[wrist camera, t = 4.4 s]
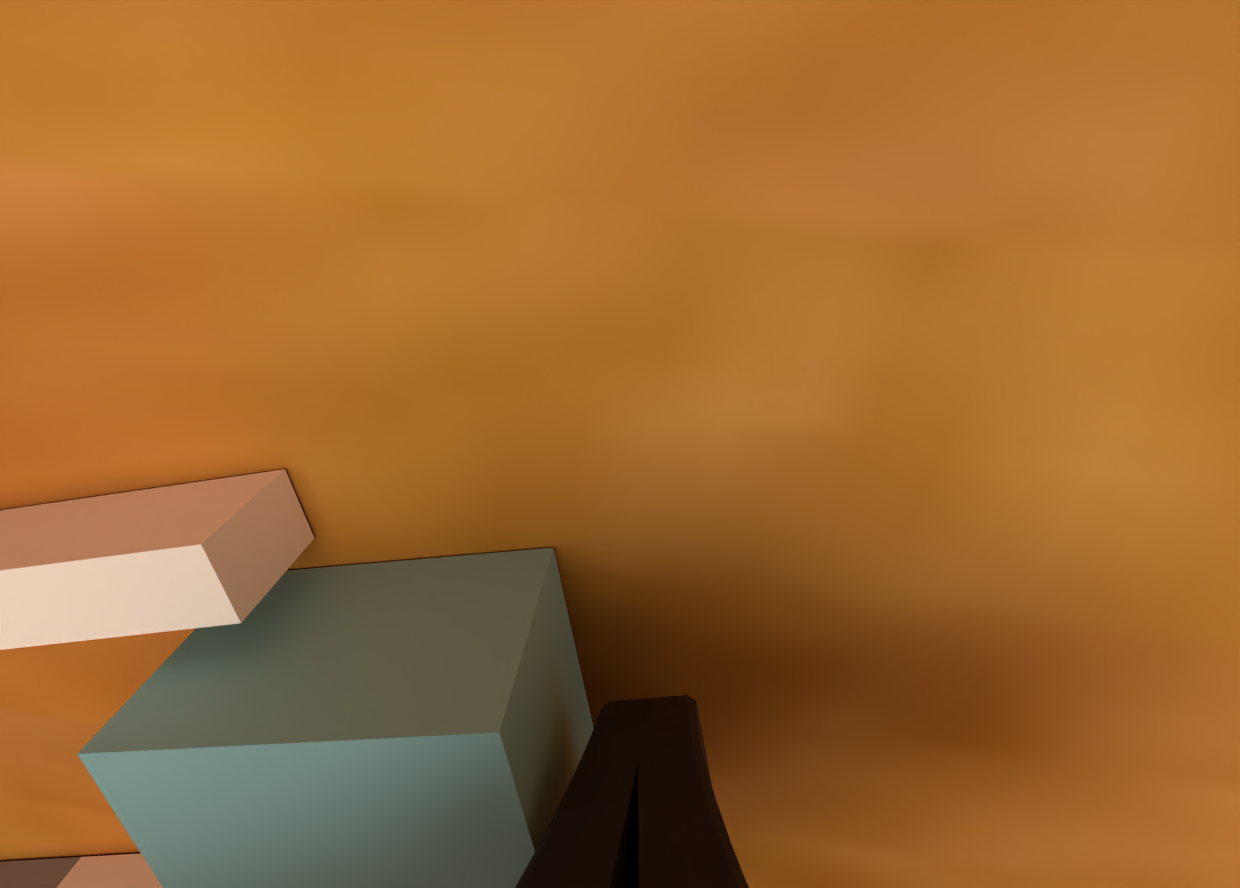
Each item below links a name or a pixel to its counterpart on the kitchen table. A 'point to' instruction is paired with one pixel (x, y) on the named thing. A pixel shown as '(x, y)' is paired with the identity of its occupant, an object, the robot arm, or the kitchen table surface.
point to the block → (358, 731)
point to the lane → (139, 591)
